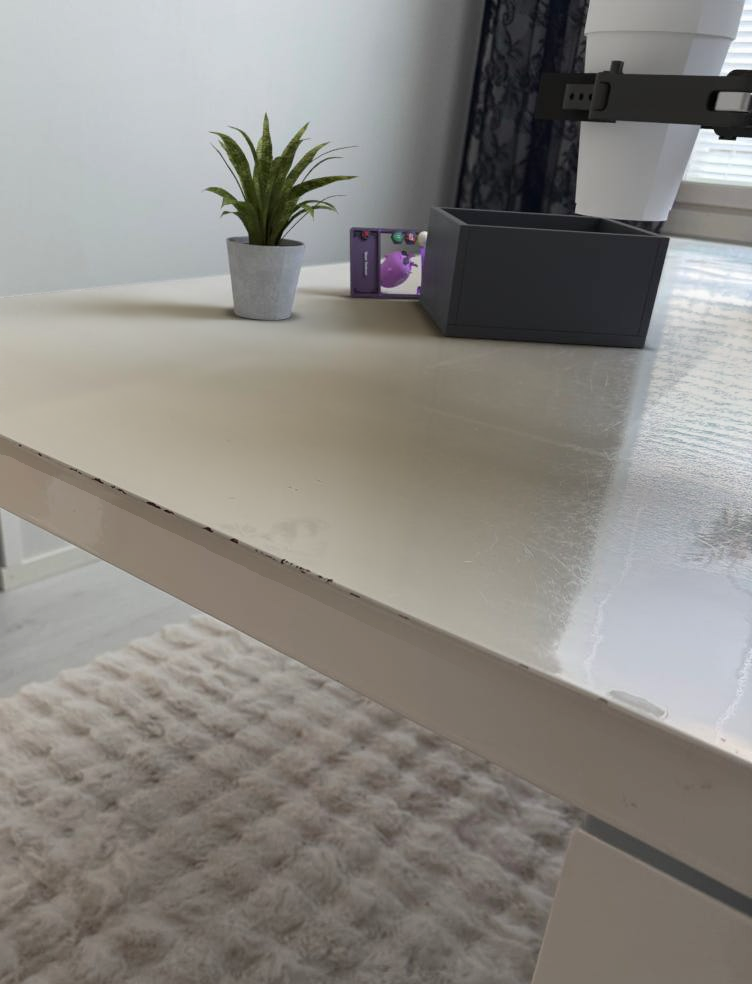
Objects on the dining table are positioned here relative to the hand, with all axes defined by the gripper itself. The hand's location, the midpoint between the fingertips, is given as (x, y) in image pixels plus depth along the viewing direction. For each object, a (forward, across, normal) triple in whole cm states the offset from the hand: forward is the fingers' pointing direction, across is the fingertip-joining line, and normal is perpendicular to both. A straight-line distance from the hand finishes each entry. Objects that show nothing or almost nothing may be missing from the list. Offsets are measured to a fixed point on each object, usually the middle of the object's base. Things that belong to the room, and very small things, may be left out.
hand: (593, 100), depth 67 cm
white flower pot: (-4, 0, -7) cm, 8 cm away
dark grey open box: (+14, +11, -18) cm, 25 cm away
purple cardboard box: (+30, +7, -19) cm, 36 cm away
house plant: (+22, -13, -18) cm, 32 cm away
